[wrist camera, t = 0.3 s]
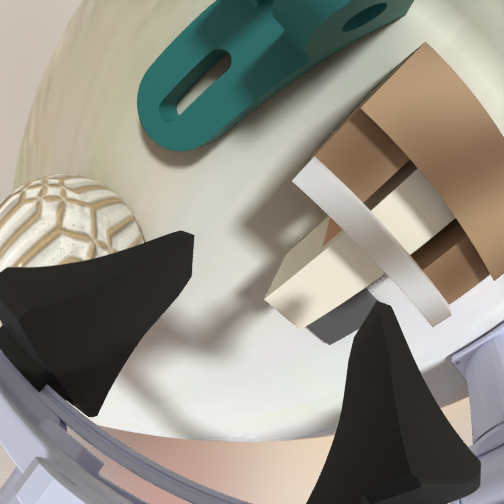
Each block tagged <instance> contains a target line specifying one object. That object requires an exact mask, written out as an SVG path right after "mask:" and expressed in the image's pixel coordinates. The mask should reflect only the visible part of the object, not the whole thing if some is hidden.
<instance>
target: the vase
mask: <svg viewBox="0 0 504 504" xmlns="http://www.w3.org/2000/svg"><path fill="white" fill-rule="evenodd" d="M142 243H144V239H143V236H142V233H141V231H140V228H139V225H138V223H137V221H136V219H135V217H134V216H133V214H132V212H131V211H130V209H129V208H128V207H127V205H126V204H125V203H124V202H123V201H122V200H121V199H120V198H119V197H118V196H117V195H116V194H115V193H114V192H113V191H112V190H110V189H109V188H108V187H106V186H104V185H103V184H101V183H99V182H98V181H96V180H93V179H91V178H87V177H83V176H80V175H72V174H54V175H49V176H45V177H41V178H38V179H35V180H32V181H30V182H27V183H25V184H23V185H22V186H20V187H19V188H17V189H16V190H14V191H13V192H12V193H11V194H10V195H8V196H7V197H6V198H5V199H4V200H3V201H2V202H1V203H0V272H1V271H2V270H4V269H5V268H7V267H42V266H54V265H62V264H68V263H74V262H80V261H85V260H89V259H93V258H98V257H102V256H105V255H109V254H112V253H115V252H118V251H121V250H124V249H128V248H131V247H134V246H137V245H139V244H142ZM2 325H3V324H2V323H1V321H0V327H1V326H2Z"/></svg>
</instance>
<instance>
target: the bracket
mask: <svg viewBox="0 0 504 504" xmlns="http://www.w3.org/2000/svg"><path fill="white" fill-rule="evenodd" d="M413 1H414V0H216V1H215V2H214V3H213V4H211V5H210V6H209V7H208V8H207V9H206V10H205V11H204V12H202V13H201V14H200V15H199V16H198V17H197V18H196V19H195V20H194V21H193V22H192V23H191V24H190V25H189V26H188V27H187V28H186V29H185V30H183V31H182V33H181V34H180V35H179V36H178V37H177V38H176V39H175V40H174V41H173V42H172V43H171V44H170V45H169V46H168V47H167V48H166V49H165V50H164V51H163V53H162V54H161V55H160V56H159V57H158V58H157V59H156V60H155V62H154V63H153V64H152V65H151V66H150V67H149V69H148V70H147V71H146V73H145V75H144V77H143V79H142V81H141V83H140V86H139V90H138V96H137V109H138V115H139V118H140V121H141V124H142V126H143V128H144V130H145V131H146V133H147V134H148V135H149V137H150V138H151V139H152V140H153V141H155V142H156V143H157V144H159V145H160V146H162V147H164V148H166V149H170V150H174V151H187V150H191V149H194V148H197V147H199V146H202V145H205V144H208V143H210V142H213V141H215V140H216V139H218V138H220V137H221V136H222V135H223V134H225V133H226V132H227V131H228V130H229V129H231V128H232V127H233V126H234V125H236V124H237V123H238V122H239V121H241V120H242V119H243V118H244V117H246V116H247V115H248V114H249V113H251V112H252V111H253V110H254V109H256V108H257V107H258V106H260V105H261V104H262V103H264V102H265V101H266V100H268V99H269V98H270V97H272V96H273V95H274V94H276V93H277V92H278V91H280V90H281V89H283V88H284V87H285V86H287V85H288V84H290V83H291V82H292V81H294V80H295V79H297V78H298V77H300V76H301V75H303V74H304V73H306V72H307V71H309V70H310V69H312V68H313V67H315V66H316V65H318V64H319V63H321V62H322V61H324V60H325V59H327V58H329V57H330V56H332V55H333V54H335V53H337V52H338V51H340V50H342V49H343V48H345V47H347V46H348V45H350V44H352V43H353V42H355V41H357V40H359V39H360V38H362V37H364V36H366V35H367V34H369V33H371V32H373V31H375V30H377V29H379V28H380V27H382V26H384V25H386V24H388V23H390V22H392V21H394V20H396V19H398V18H400V17H402V16H404V15H406V13H407V12H408V10H409V8H410V6H411V5H412V3H413ZM227 54H230V56H231V59H232V62H231V66H230V68H229V69H228V70H227V71H226V72H225V73H224V74H223V75H222V76H221V77H219V78H218V79H217V80H216V81H215V82H214V83H213V84H212V85H211V86H209V87H208V88H207V89H206V90H205V91H204V92H203V93H202V94H201V95H200V96H199V97H198V98H197V99H196V100H195V101H194V102H193V103H192V104H191V105H190V106H189V107H188V108H187V109H186V110H185V111H184V112H183V113H182V114H181V115H180V116H179V114H178V113H177V110H176V105H177V102H178V100H179V99H180V98H181V97H182V96H183V95H184V94H185V93H186V92H187V91H188V90H189V89H190V88H191V87H192V86H193V85H194V84H195V83H196V82H197V81H198V80H199V79H200V78H201V77H202V76H203V75H204V74H205V73H206V72H207V71H208V70H209V69H211V68H212V67H213V66H214V65H215V64H216V63H217V62H218V61H219V60H221V59H222V58H223V57H224V56H225V55H227Z"/></svg>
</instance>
